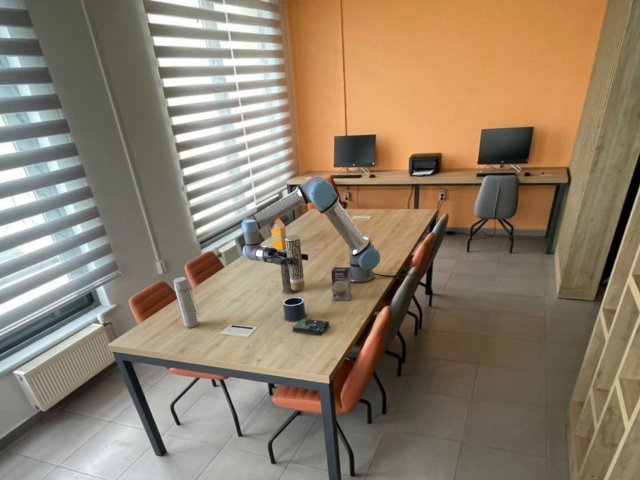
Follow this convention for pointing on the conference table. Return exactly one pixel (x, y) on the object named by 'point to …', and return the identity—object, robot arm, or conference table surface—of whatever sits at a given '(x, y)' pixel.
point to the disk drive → (311, 326)
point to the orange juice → (278, 235)
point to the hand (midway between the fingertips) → (302, 259)
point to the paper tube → (294, 270)
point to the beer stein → (286, 279)
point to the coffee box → (341, 283)
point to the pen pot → (294, 309)
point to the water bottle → (186, 302)
